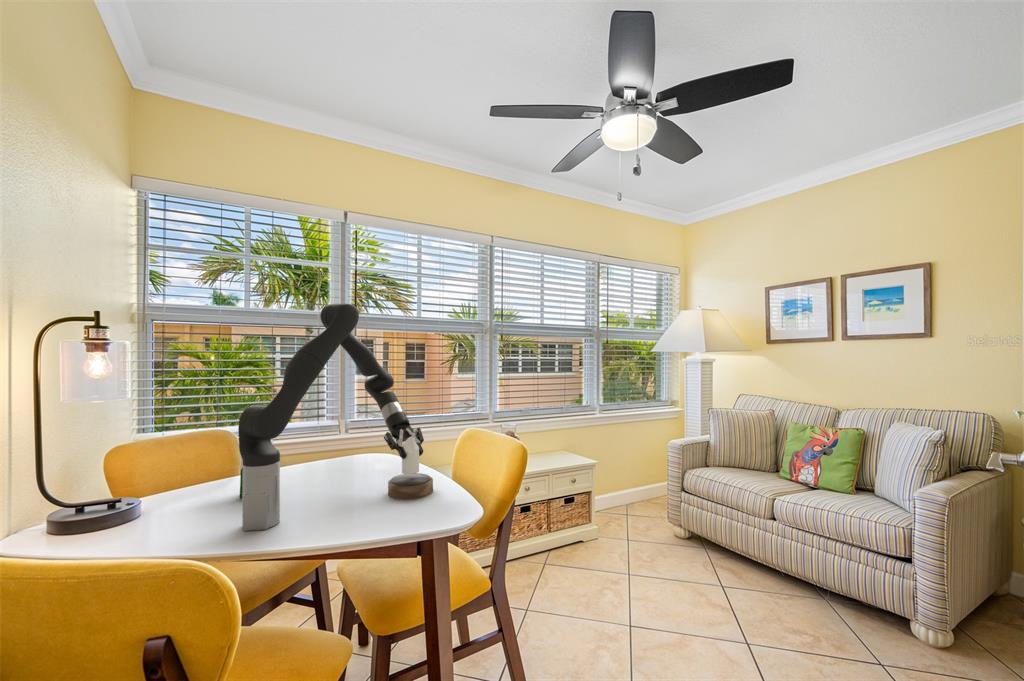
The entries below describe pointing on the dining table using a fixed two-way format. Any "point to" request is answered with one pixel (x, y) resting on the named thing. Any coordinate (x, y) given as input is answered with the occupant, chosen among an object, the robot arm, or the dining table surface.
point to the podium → (410, 486)
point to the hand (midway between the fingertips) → (413, 455)
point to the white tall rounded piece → (410, 457)
